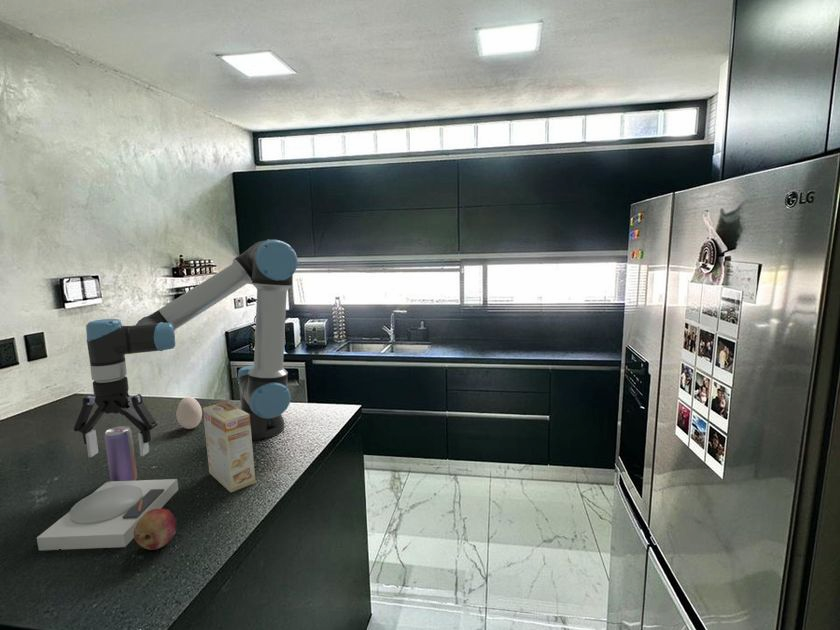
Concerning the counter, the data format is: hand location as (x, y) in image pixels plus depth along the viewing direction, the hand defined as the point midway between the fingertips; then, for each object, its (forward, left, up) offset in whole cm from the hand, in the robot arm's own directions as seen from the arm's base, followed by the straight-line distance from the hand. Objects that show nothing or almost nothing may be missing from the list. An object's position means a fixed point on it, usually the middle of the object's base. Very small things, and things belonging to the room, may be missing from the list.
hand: (119, 454), depth 118 cm
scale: (-8, +16, -8) cm, 20 cm away
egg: (-1, -35, -8) cm, 36 cm away
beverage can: (0, 0, -8) cm, 8 cm away
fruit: (-24, +27, -8) cm, 37 cm away
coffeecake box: (-29, 0, -8) cm, 30 cm away
